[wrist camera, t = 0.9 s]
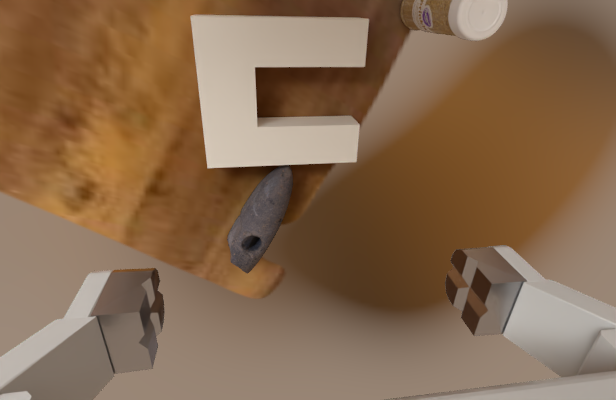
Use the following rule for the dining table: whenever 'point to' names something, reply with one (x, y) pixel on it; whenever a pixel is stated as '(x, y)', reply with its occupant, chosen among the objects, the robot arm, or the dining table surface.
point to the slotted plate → (242, 87)
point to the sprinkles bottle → (455, 17)
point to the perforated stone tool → (260, 218)
